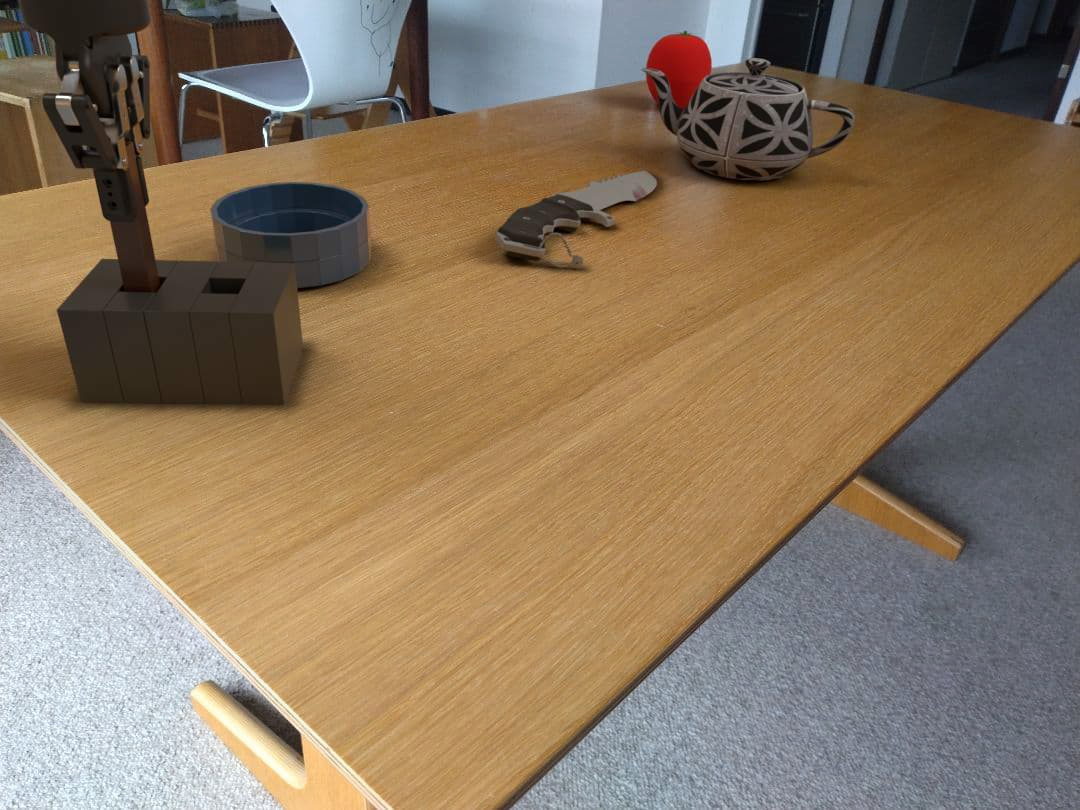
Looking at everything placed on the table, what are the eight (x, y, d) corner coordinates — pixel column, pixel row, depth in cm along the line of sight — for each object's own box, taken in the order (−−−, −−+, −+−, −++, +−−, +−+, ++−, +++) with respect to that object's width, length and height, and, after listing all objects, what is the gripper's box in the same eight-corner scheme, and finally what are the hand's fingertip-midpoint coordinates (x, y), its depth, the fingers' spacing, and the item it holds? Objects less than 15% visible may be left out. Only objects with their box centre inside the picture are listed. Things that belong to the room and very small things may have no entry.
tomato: (670, 119, 149) (680, 39, 142) (630, 104, 156) (638, 27, 149) (718, 113, 154) (731, 35, 147) (678, 98, 162) (688, 24, 155)
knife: (590, 168, 123) (592, 138, 121) (662, 180, 120) (666, 150, 118) (483, 260, 94) (483, 223, 92) (574, 279, 91) (577, 241, 89)
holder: (81, 403, 67) (55, 309, 63) (121, 345, 75) (101, 258, 70) (284, 406, 68) (273, 313, 64) (303, 348, 76) (294, 262, 72)
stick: (142, 373, 70) (93, 148, 60) (149, 361, 72) (103, 139, 62) (167, 374, 70) (123, 149, 60) (175, 361, 72) (133, 141, 62)
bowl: (202, 292, 84) (192, 232, 81) (238, 232, 97) (230, 179, 94) (363, 295, 85) (359, 237, 82) (377, 236, 98) (374, 184, 95)
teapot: (649, 135, 140) (661, 34, 132) (846, 167, 131) (872, 61, 123) (611, 166, 125) (622, 55, 117) (831, 205, 116) (859, 87, 108)
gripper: (55, -67, 60) (107, 180, 69) (-45, -46, 48) (33, 248, 58) (168, -61, 61) (204, 184, 70) (96, -38, 49) (151, 252, 58)
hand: (127, 212), depth 64 cm, fingers closed on stick, 2 cm apart
